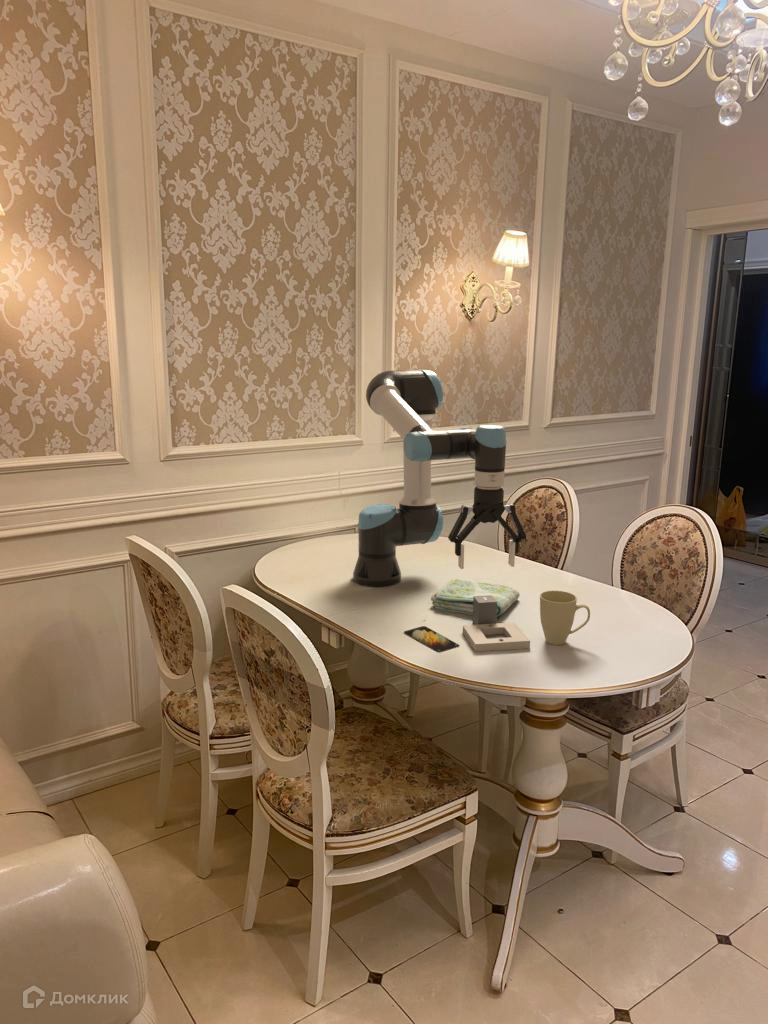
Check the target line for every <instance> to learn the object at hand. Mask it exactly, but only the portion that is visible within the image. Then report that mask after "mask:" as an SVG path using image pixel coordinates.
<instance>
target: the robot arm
mask: <svg viewBox="0 0 768 1024" xmlns="http://www.w3.org/2000/svg"><path fill="white" fill-rule="evenodd" d="M365 398H366V399H365V400H366V403H367V405H368V406H369V408H370V409H371V410H372V411H373V412H374V413H375V414H376V415H377V416H378V415H379V416H382V417H383V419H384V420H385V421H386V423H388V424H389V425H390V426H391V427H392V429H393V430H394V431H395V432H396V433H397V434H398V435H399V437H400V438H401V439H402V442H403V445H402V446H403V447H402V448H403V450H402V451H403V457H402V458H403V497H402V498H401V499H400V500H399V502H398V505H399V507H398V508H397V507H396V506H395V505H393V504H389V503H387V504H386V503H385V504H382V503H381V504H375V505H371V506H367V507H365V508H363V509H362V510H360V512H359V513H358V523H357V529H358V531H357V532H358V557H357V559H356V562H355V567H354V569H353V574H352V576H353V577H352V580H353V583H355V584H357V585H360V586H363V587H370V588H384V587H390V586H395V585H397V584H399V583H400V582H401V581H402V572H401V569H400V565H399V562H398V558H397V557H396V556H397V555H396V554H397V553H396V551H397V547H403V546H409V545H420V544H421V545H425V544H428V543H433V542H436V541H437V540H438V539H439V538H440V537H441V535H442V532H443V528H444V515H443V511H442V509H441V507H440V506H439V505H437V501H436V500H435V499H434V498H433V496H432V461H440V460H441V461H442V460H461V459H471V460H474V479H473V480H474V482H473V483H474V484H473V485H474V486H475V487H474V488H473V489H474V490H473V505H472V506H468V505H465V504H462V505H461V506H460V512H459V513H460V514H459V515H458V518H456V521H455V523H454V525H453V527H452V529H451V531H450V532H449V534H448V537H447V538H448V540H449V542H451V543H454V554H455V555H456V557H458V558H457V559H458V561H457V563H458V564H457V565H458V567H459V569H460V570H464V568H465V567H464V565H465V543H463V542H464V541H465V540H466V538H467V537H468V536H470V534H471V533H472V532H473V530H474V529H475V528H476V527H477V526H478V525H479V524H480V523H483V524H487V523H493V524H495V523H496V522H498V524H500V526H501V527H502V528H503V529H504V530H505V532H506V533H507V534H508V535H509V536H510V538H511V539H509V541H508V542H509V544H508V562H507V563H508V565H509V567H511V568H512V567H515V563H516V562H515V561H516V559H515V557H516V554H519V549H520V547H519V543H520V542H521V541H522V540H526V539H527V535H526V533H525V531H524V528H523V526H522V524H521V522H520V520H519V518H518V516H517V512H516V511H517V510H516V506H515V504H513V503H508V504H504V499H505V497H504V495H505V488H503V486H504V485H505V467H506V453H507V451H506V450H507V431H506V428H505V427H504V426H503V425H502V426H501V425H497V424H496V425H494V424H481V425H478V426H477V427H476V429H475V428H472V427H460V428H458V429H452V430H451V429H449V430H434V429H433V428H432V427H431V426H432V423H431V422H432V421H431V420H432V419H433V418H434V417H435V416H436V411H437V409H438V408H440V407H441V406H442V405H443V400H444V391H443V384H442V382H441V380H440V377H439V376H438V374H436V372H434V371H432V370H429V369H428V370H427V369H412V370H411V369H409V370H406V369H405V370H404V369H403V370H386V371H382V372H380V373H378V374H377V375H375V376H374V377H373V378H372V379H371V380H370V382H369V383H368V385H367V388H366V392H365ZM505 511H506V513H507V514H508V515H509V517H510V519H511V521H512V525H514V528H515V530H516V532H517V534H516V532H515V531H514V530H513V529H512V528H511V526H509V524H508V523H507V522H506V521H505V519H504V518H503V516H502V515H503V513H504V512H505ZM471 512H472V513H473V514H474V515H473V516H472V517H471V518H470V520H469V521H468V523H466V525H465V527H463V526H464V523H465V522H466V520H467V518H468V515H470V514H471ZM462 528H463V529H462Z"/></svg>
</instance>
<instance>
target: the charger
mask: <svg viewBox="0 0 768 1024" xmlns="http://www.w3.org/2000/svg"><path fill="white" fill-rule="evenodd" d="M497 619H498V616H497V601H496V600H495V599H494V597H493V596H492V595H487V596H474V599H473V615H472V623H473V625H479V624H496V623H497V621H498V620H497Z"/></svg>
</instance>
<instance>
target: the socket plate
mask: <svg viewBox="0 0 768 1024" xmlns="http://www.w3.org/2000/svg"><path fill="white" fill-rule="evenodd" d="M462 634H463V636H464V637H465V638H467V639H466V640H467V642H468V643H469V644H470V646H471V648H472V649H473V651H474V652H475V653H477V652H476V651H478V652H491V650H492V651H508V650H510V651H511V650H524V649H531V640H530V638H529V637H528V636H527V635H526V634H525V633H524V632H523V631H522V629H521V628H520V627H519V626H518V624H517V623H516V622H514V621H513V622H500V623H499V622H498V623H497V622H496V624H479V625H474V624H467V625H466V624H465V625H462Z"/></svg>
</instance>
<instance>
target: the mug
mask: <svg viewBox="0 0 768 1024" xmlns="http://www.w3.org/2000/svg"><path fill="white" fill-rule="evenodd" d="M577 601H578V597H577V595H575V594H573V593H571V592H569V591H564V590H563V591H562V590H547V591H546V590H545V591H543V592H541V593H540V594H539V611H540V612H539V614H540V624H541V628H542V631H543V635H544V639H545V642H546V643H547V644H549V645H554V646H562V645H565V644H566V641H567V640H568V637H569V635H571V634H574V633H576V632H577V631H579V630H581V629H582V628H583V627H585V626H586V625H587V624H588V623H589V621H590V618H591V611H590V610H591V609H590V608H589V606H588V605H587V604H577ZM581 608H584V609H585V610H587V617H586V618H587V619H586V620H585V621H583V623H582V624H580V625H579V626H577V627H575V628H574V629H573V630H572V627H573V625H574V621H575V615H576V611H579V609H581Z"/></svg>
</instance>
